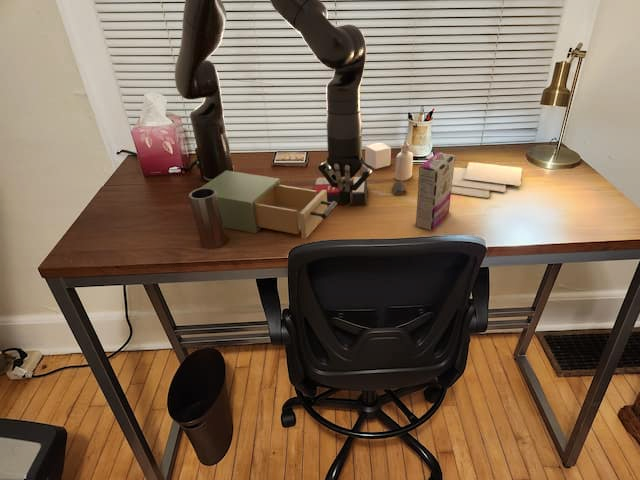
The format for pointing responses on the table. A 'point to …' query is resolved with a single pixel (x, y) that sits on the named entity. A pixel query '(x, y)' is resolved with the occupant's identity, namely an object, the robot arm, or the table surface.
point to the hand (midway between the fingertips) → (346, 203)
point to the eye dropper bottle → (404, 163)
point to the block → (399, 188)
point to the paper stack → (484, 179)
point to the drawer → (292, 209)
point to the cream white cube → (377, 155)
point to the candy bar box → (434, 190)
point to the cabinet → (240, 197)
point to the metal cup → (208, 217)
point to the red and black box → (333, 192)
